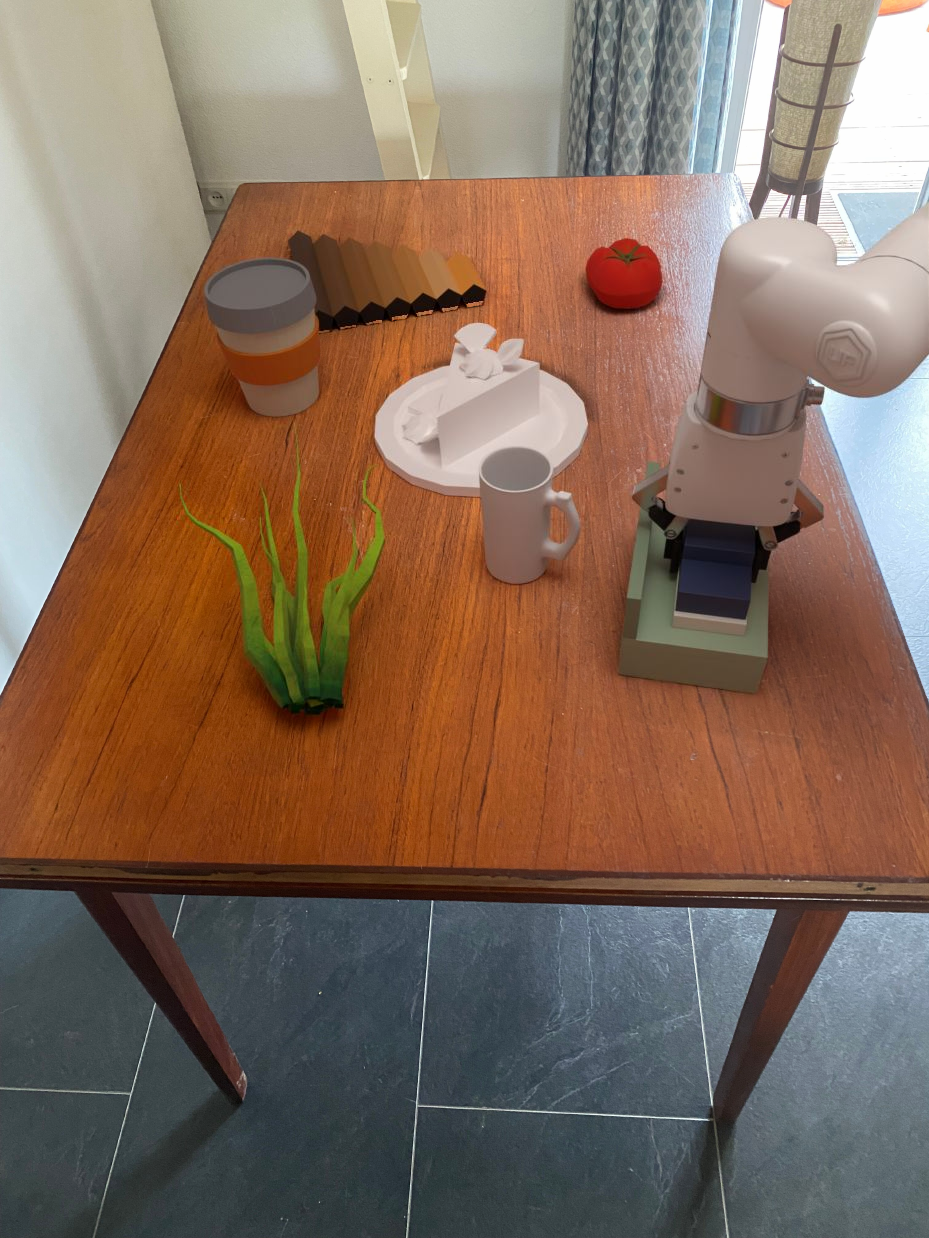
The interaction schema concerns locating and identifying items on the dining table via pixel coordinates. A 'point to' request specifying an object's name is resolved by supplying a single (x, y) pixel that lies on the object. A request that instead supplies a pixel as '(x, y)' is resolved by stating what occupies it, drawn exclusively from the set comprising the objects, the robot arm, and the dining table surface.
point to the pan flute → (381, 279)
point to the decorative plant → (301, 618)
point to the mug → (522, 514)
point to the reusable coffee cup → (268, 332)
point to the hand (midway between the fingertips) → (712, 565)
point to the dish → (477, 415)
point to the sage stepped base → (677, 650)
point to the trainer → (714, 577)
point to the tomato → (624, 274)
